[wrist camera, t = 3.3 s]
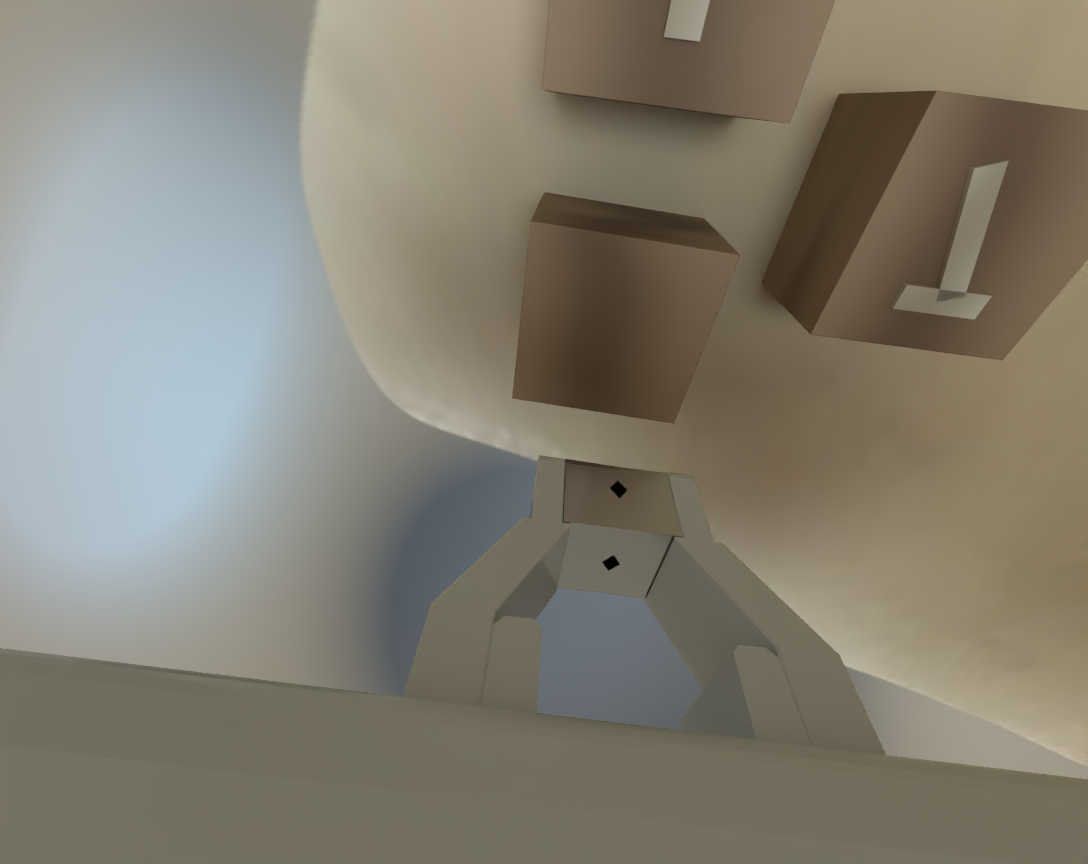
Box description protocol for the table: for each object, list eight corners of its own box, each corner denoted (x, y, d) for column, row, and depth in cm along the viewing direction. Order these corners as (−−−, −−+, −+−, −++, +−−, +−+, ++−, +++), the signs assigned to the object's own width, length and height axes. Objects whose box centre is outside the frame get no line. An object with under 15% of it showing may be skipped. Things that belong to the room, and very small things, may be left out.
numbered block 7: (1024, 118, 14) (1207, 125, 10) (908, 301, 17) (1006, 362, 13) (837, 94, 14) (940, 90, 10) (760, 281, 17) (812, 336, 13)
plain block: (703, 217, 16) (740, 255, 12) (656, 359, 20) (673, 423, 16) (545, 191, 16) (530, 221, 12) (527, 339, 20) (512, 398, 16)
